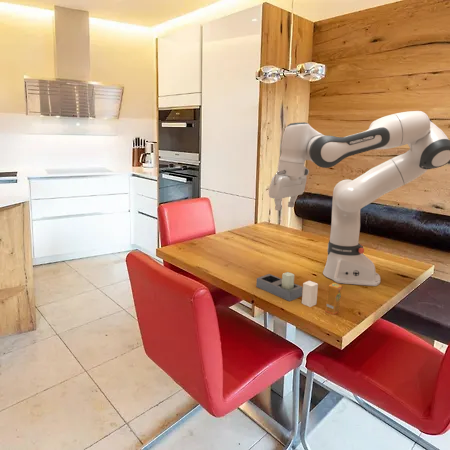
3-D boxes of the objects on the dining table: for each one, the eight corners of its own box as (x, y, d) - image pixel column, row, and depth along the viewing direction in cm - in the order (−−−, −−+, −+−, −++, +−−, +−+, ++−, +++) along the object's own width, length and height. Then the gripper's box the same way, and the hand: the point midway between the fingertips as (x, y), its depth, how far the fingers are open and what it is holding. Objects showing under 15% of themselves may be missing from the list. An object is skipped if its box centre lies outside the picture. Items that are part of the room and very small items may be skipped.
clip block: (316, 305, 130) (318, 283, 128) (310, 308, 128) (311, 286, 126) (307, 301, 132) (309, 280, 130) (301, 304, 130) (303, 283, 128)
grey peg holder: (301, 297, 136) (302, 286, 135) (289, 302, 131) (290, 292, 130) (268, 283, 147) (269, 273, 146) (256, 288, 143) (256, 278, 142)
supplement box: (334, 316, 122) (336, 287, 120) (324, 312, 125) (327, 284, 122) (339, 313, 124) (342, 285, 122) (330, 309, 127) (332, 281, 124)
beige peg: (293, 295, 136) (294, 274, 134) (287, 297, 134) (288, 276, 132) (286, 292, 138) (287, 271, 136) (281, 294, 137) (282, 273, 135)
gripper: (284, 172, 122) (277, 214, 125) (311, 170, 138) (304, 207, 141) (267, 169, 125) (261, 210, 129) (295, 167, 141) (289, 203, 145)
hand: (284, 208), depth 135 cm, fingers open, 8 cm apart
